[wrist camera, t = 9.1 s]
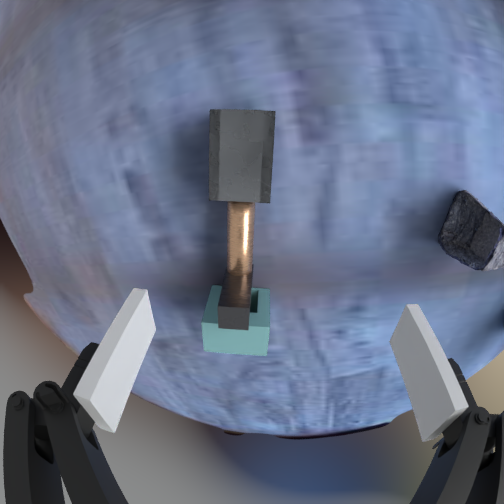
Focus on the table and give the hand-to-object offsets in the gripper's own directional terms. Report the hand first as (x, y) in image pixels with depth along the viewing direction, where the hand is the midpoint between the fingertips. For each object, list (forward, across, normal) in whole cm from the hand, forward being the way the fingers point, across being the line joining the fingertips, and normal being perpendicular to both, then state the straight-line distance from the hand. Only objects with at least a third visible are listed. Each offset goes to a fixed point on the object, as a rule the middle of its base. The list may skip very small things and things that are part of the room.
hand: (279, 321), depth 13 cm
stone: (+23, +29, -1) cm, 37 cm away
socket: (+22, -4, -16) cm, 27 cm away
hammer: (+20, -4, -7) cm, 22 cm away
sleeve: (+22, -4, +5) cm, 23 cm away
